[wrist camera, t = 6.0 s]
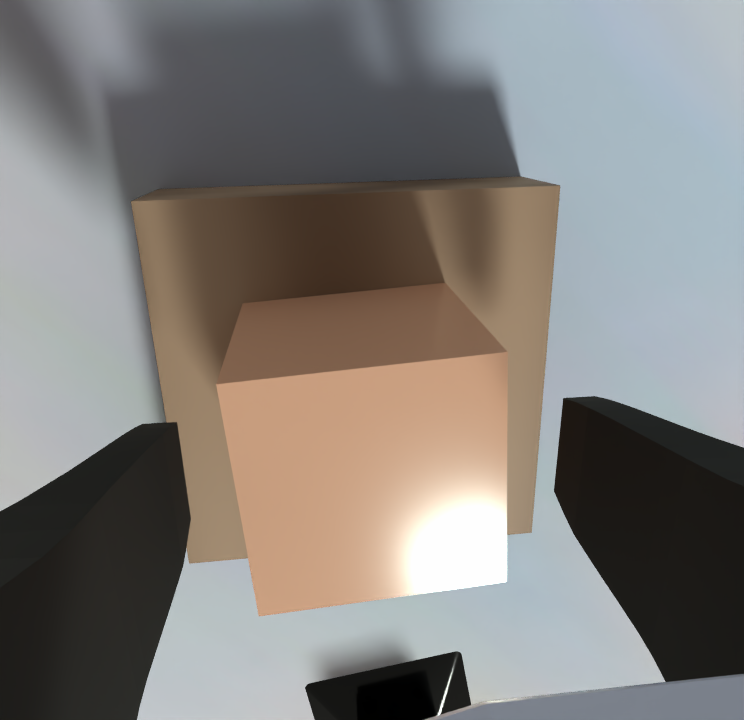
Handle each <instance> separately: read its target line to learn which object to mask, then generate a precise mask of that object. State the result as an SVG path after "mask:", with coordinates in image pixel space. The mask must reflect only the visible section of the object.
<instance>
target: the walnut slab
mask: <svg viewBox="0 0 744 720" xmlns="http://www.w3.org/2000/svg"><path fill="white" fill-rule="evenodd" d="M559 194H560V185H555V184H551V183H547V182H542V181H538V180H534V179H529V178H525V177H493V178H464V179H435V180H406V181H377V182H348V183H320V184H291V185H262V186H233V187H204V188H175V189H157V190H155V191H153V192H151V193H148V194H146V195H144V196H142V197H139V198H137V199H135V200H133V201H131V205H132V211H133V217H134V223H135V230H136V236H137V242H138V248H139V254H140V261H141V267H142V273H143V279H144V286H145V292H146V298H147V304H148V310H149V317H150V323H151V329H152V335H153V342H154V348H155V354H156V360H157V366H158V373H159V379H160V385H161V391H162V398H163V404H164V410H165V416H166V422H167V423H168V422H177V425H178V432H179V439H180V446H181V453H182V460H183V467H184V473H185V480H186V487H187V494H188V501H189V508H190V515H191V522H190V528H189V534H188V541H187V553H188V559H189V563H200V562H211V561H222V560H233V559H244V558H248V554H247V549H246V544H245V538H244V533H243V527H242V522H241V517H240V511H239V506H238V500H237V495H236V489H235V484H234V479H233V473H232V468H231V462H230V457H229V452H228V446H227V441H226V435H225V430H224V424H223V419H222V414H221V408H220V403H219V397H218V392H217V386H216V383H217V380H218V377H219V374H220V371H221V368H222V365H223V362H224V359H225V356H226V353H227V350H228V347H229V344H230V340H231V337H232V334H233V331H234V328H235V325H236V322H237V319H238V316H239V313H240V310H241V307H242V304H243V303H251V302H261V301H271V300H280V299H290V298H300V297H310V296H320V295H329V294H339V293H349V292H359V291H368V290H378V289H388V288H398V287H408V286H417V285H427V284H437V283H446V284H447V285H448V286H449V287H450V289H451V290H452V291H453V292H454V293H455V294H456V295H457V296H458V297H459V299H460V300H461V301H462V302H463V303H464V304H465V305H466V306H467V307H468V308H469V310H470V311H471V312H472V313H473V314H474V315H475V316H476V317H477V318H478V320H479V321H480V322H481V323H482V324H483V325H484V326H485V327H486V328H487V329H488V331H489V332H490V333H491V334H492V335H493V336H494V337H495V338H496V339H497V341H498V342H499V343H500V344H501V345H502V346H503V347H504V348H505V349H506V350H507V352H508V416H507V535H510V534H521V533H532V521H533V509H534V497H535V485H536V473H537V461H538V448H539V436H540V424H541V412H542V400H543V388H544V376H545V364H546V352H547V340H548V327H549V315H550V303H551V291H552V279H553V267H554V255H555V243H556V231H557V219H558V206H559Z"/></svg>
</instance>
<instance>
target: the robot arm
mask: <svg viewBox="0 0 744 720" xmlns="http://www.w3.org/2000/svg"><path fill="white" fill-rule="evenodd" d="M554 492H555V494H556V497H557V499H558V501H559V504H560V506H561V508H562V510H563V513H564V515H565V517H566V519H567V521H568V523H569V525H570V527H571V529H572V531H573V534H574V535H575V537H576V538H577V540H578V542H579V543H580V545H581V546H582V548H583V549H584V551H585V552H586V554H587V556H588V557H589V559H590V560H591V562H592V563H593V565H594V566H595V568H596V569H597V571H598V572H599V574H600V575H601V577H602V578H603V580H604V581H605V583H606V584H607V586H608V587H609V589H610V590H611V592H612V593H613V595H614V596H615V598H616V599H617V601H618V602H619V604H620V605H621V607H622V608H623V610H624V611H625V613H626V614H627V616H628V617H629V619H630V620H631V622H632V624H633V625H634V627H635V628H636V630H637V631H638V633H639V634H640V636H641V638H642V639H643V641H644V643H645V644H646V646H647V648H648V649H649V651H650V653H651V655H652V656H653V658H654V660H655V662H656V664H657V666H658V668H659V670H660V672H661V674H662V676H663V677H664V679H665V681H666V682H662V683H653V684H644V685H634V686H625V687H616V688H606V689H597V690H588V691H578V692H569V693H560V694H550V695H541V696H532V697H522V698H513V699H504V700H494V701H485V702H480V703H477V704H474V705H470V706H467V707H464V708H461V709H457V710H454V711H451V712H447V713H444V714H441V715H438V716H434V717H431V718H428V719H425V720H744V448H743V447H740V446H737V445H734V444H731V443H728V442H725V441H722V440H719V439H716V438H713V437H710V436H708V435H705V434H702V433H699V432H696V431H694V430H691V429H688V428H686V427H683V426H680V425H678V424H675V423H672V422H670V421H667V420H664V419H662V418H659V417H657V416H654V415H651V414H649V413H646V412H643V411H641V410H638V409H635V408H632V407H630V406H627V405H624V404H621V403H618V402H615V401H612V400H608V399H604V398H600V397H595V396H592V397H576V398H563V407H562V417H561V427H560V437H559V447H558V457H557V467H556V477H555V487H554ZM190 522H191V515H190V508H189V501H188V494H187V487H186V480H185V473H184V467H183V460H182V453H181V446H180V439H179V432H178V425H177V422H168V423H152V424H142V425H139V426H137V427H135V428H134V429H132V430H130V431H129V432H127V433H125V434H124V435H122V436H121V437H119V438H118V439H116V440H115V441H113V442H112V443H110V444H109V445H107V446H106V447H104V448H103V449H101V450H100V451H98V452H97V453H95V454H94V455H92V456H91V457H89V458H88V459H86V460H85V461H83V462H82V463H80V464H79V465H77V466H76V467H74V468H73V469H71V470H70V471H68V472H66V473H65V474H63V475H62V476H60V477H58V478H57V479H55V480H53V481H52V482H50V483H48V484H47V485H45V486H43V487H42V488H40V489H38V490H37V491H35V492H34V493H32V494H30V495H29V496H27V497H25V498H24V499H22V500H20V501H18V502H17V503H15V504H13V505H11V506H9V507H8V508H6V509H4V510H2V511H0V720H137V716H138V712H139V707H140V703H141V699H142V696H143V692H144V688H145V685H146V681H147V677H148V674H149V671H150V668H151V665H152V662H153V659H154V656H155V653H156V650H157V647H158V643H159V640H160V637H161V634H162V631H163V628H164V625H165V622H166V619H167V616H168V613H169V609H170V606H171V603H172V600H173V597H174V594H175V590H176V587H177V584H178V581H179V578H180V574H181V571H182V568H183V564H184V558H185V552H186V547H187V541H188V534H189V528H190Z"/></svg>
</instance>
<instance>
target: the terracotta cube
mask: <svg viewBox="0 0 744 720" xmlns="http://www.w3.org/2000/svg"><path fill="white" fill-rule="evenodd" d="M216 386H217V392H218V397H219V403H220V408H221V414H222V419H223V424H224V430H225V435H226V441H227V446H228V452H229V457H230V462H231V468H232V473H233V479H234V484H235V489H236V495H237V500H238V506H239V511H240V517H241V522H242V527H243V533H244V538H245V544H246V549H247V554H248V560H249V565H250V571H251V576H252V582H253V587H254V592H255V598H256V603H257V609H258V614H259V616H265V615H272V614H279V613H286V612H293V611H301V610H308V609H315V608H322V607H330V606H337V605H344V604H351V603H358V602H366V601H373V600H380V599H387V598H394V597H402V596H409V595H416V594H423V593H431V592H438V591H445V590H452V589H459V588H467V587H474V586H481V585H488V584H496V583H503V582H507V416H508V352H507V350H506V349H505V348H504V347H503V346H502V345H501V344H500V343H499V342H498V341H497V339H496V338H495V337H494V336H493V335H492V334H491V333H490V332H489V331H488V329H487V328H486V327H485V326H484V325H483V324H482V323H481V322H480V321H479V320H478V318H477V317H476V316H475V315H474V314H473V313H472V312H471V311H470V310H469V308H468V307H467V306H466V305H465V304H464V303H463V302H462V301H461V300H460V299H459V297H458V296H457V295H456V294H455V293H454V292H453V291H452V290H451V289H450V287H449V286H448V285H447V284H446V283H437V284H427V285H417V286H408V287H398V288H388V289H378V290H368V291H359V292H349V293H339V294H329V295H320V296H310V297H300V298H290V299H280V300H271V301H261V302H251V303H243V304H242V307H241V310H240V313H239V316H238V319H237V322H236V325H235V328H234V331H233V334H232V337H231V340H230V344H229V347H228V350H227V353H226V356H225V359H224V362H223V365H222V368H221V371H220V374H219V377H218V380H217V383H216Z"/></svg>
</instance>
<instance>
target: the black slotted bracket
mask: <svg viewBox="0 0 744 720" xmlns="http://www.w3.org/2000/svg"><path fill="white" fill-rule="evenodd" d="M305 689H306V692H307V696H308V699H309V702H310V705H311V709H312V712H313V715H314V719H315V720H425V719H428V718H431V717H434V716H438V715H441V714H444V713H447V712H451V711H454V710H457V709H461V708H464V707H467V706H470V705H471V702H470V696H469V691H468V686H467V681H466V676H465V670H464V665H463V660H462V655H461V653H460V652H451V653H447V654H442V655H438V656H433V657H428V658H424V659H419V660H415V661H410V662H406V663H401V664H396V665H392V666H387V667H383V668H378V669H374V670H369V671H364V672H360V673H355V674H351V675H346V676H342V677H337V678H332V679H328V680H323V681H319V682H314V683H310V684H308V685H307V686H306V687H305Z"/></svg>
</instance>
